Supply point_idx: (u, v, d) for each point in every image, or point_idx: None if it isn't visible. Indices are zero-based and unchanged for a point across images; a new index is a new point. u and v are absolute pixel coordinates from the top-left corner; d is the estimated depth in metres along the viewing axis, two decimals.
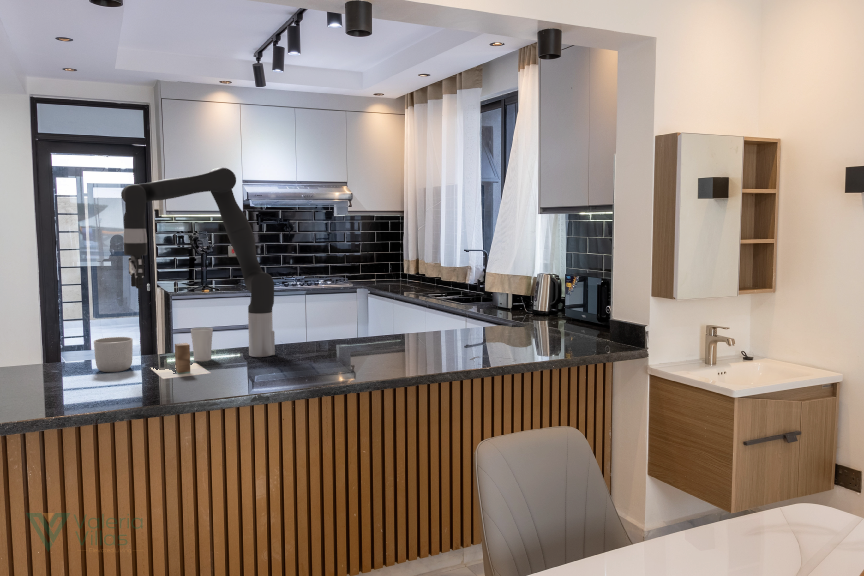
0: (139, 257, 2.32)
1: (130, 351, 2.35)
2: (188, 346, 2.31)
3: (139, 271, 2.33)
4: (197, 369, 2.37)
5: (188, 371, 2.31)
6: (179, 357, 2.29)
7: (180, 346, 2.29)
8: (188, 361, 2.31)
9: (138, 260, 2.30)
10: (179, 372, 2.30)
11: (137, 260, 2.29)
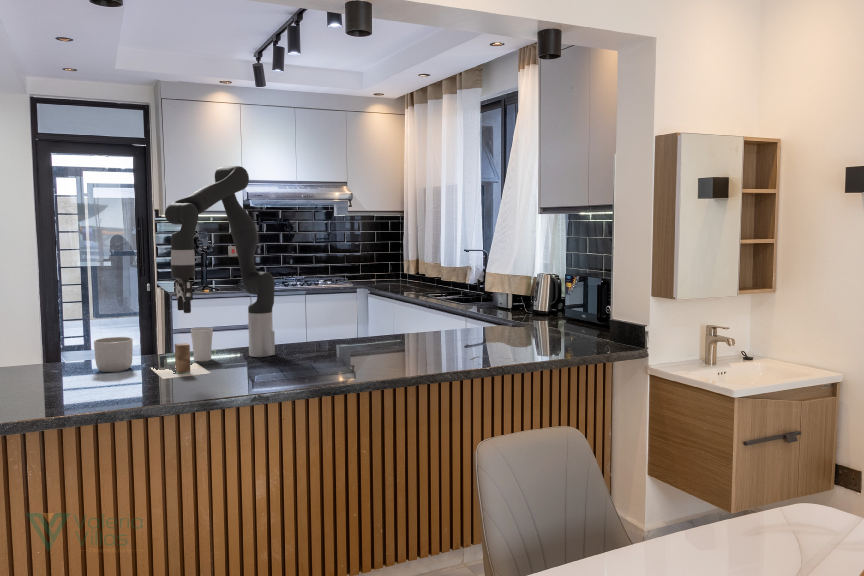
0: (187, 280, 2.20)
1: (130, 351, 2.35)
2: (188, 346, 2.31)
3: (187, 295, 2.20)
4: (197, 369, 2.37)
5: (188, 371, 2.31)
6: (179, 357, 2.29)
7: (180, 346, 2.29)
8: (188, 361, 2.31)
9: (186, 283, 2.17)
10: (179, 372, 2.30)
11: (185, 283, 2.17)
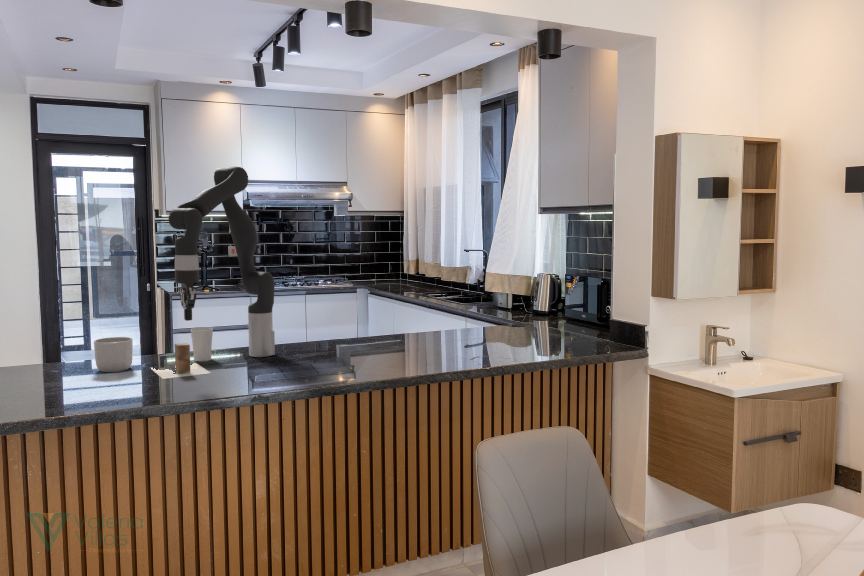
0: (191, 285, 2.19)
1: (130, 351, 2.35)
2: (188, 346, 2.31)
3: None
4: (197, 369, 2.37)
5: (188, 371, 2.31)
6: (179, 357, 2.29)
7: (180, 346, 2.29)
8: (188, 361, 2.31)
9: (190, 296, 2.17)
10: (179, 372, 2.30)
11: (189, 296, 2.17)
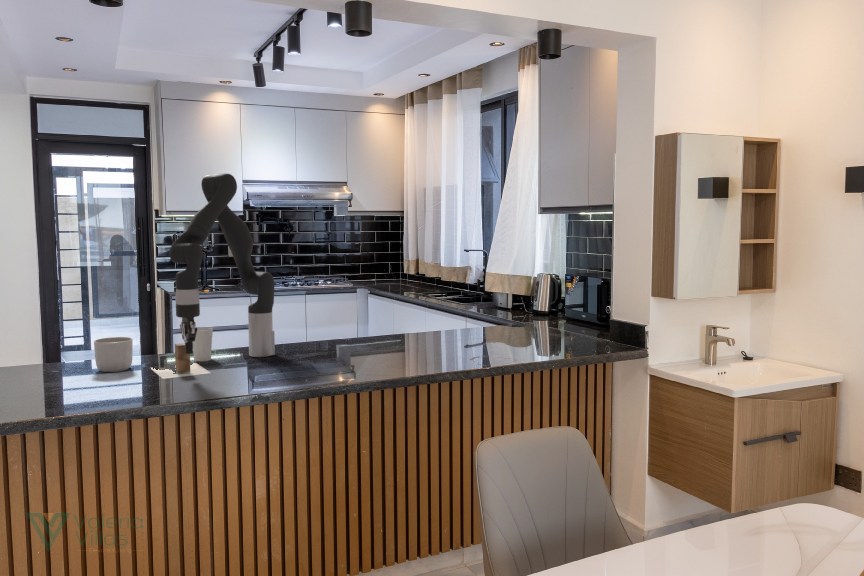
0: (192, 319, 2.21)
1: (130, 351, 2.35)
2: None
3: None
4: (197, 369, 2.37)
5: (188, 371, 2.31)
6: (179, 357, 2.29)
7: (180, 346, 2.29)
8: (188, 361, 2.31)
9: (191, 330, 2.18)
10: (179, 372, 2.30)
11: (190, 330, 2.18)
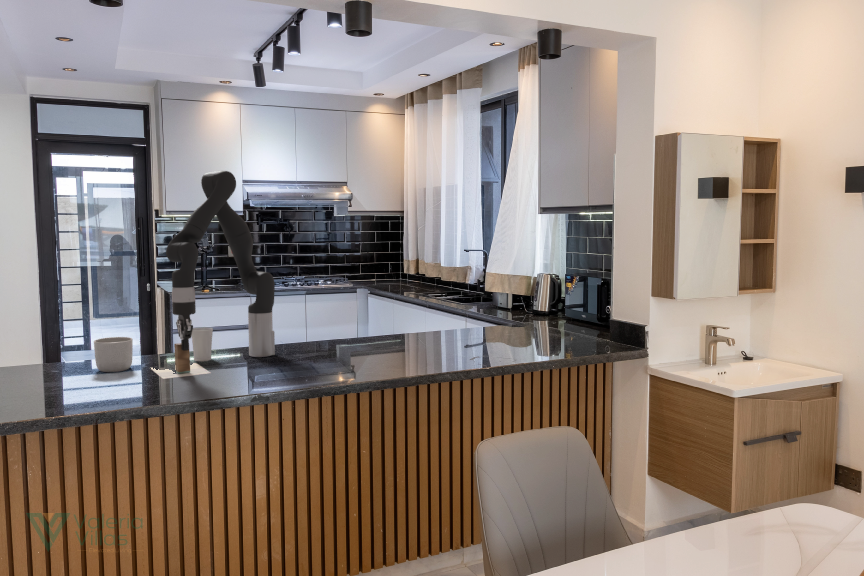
0: (188, 317, 2.25)
1: (130, 351, 2.35)
2: None
3: None
4: (197, 369, 2.37)
5: (188, 370, 2.31)
6: (179, 356, 2.30)
7: (180, 345, 2.30)
8: (188, 360, 2.31)
9: (187, 328, 2.23)
10: (179, 371, 2.30)
11: (186, 328, 2.23)
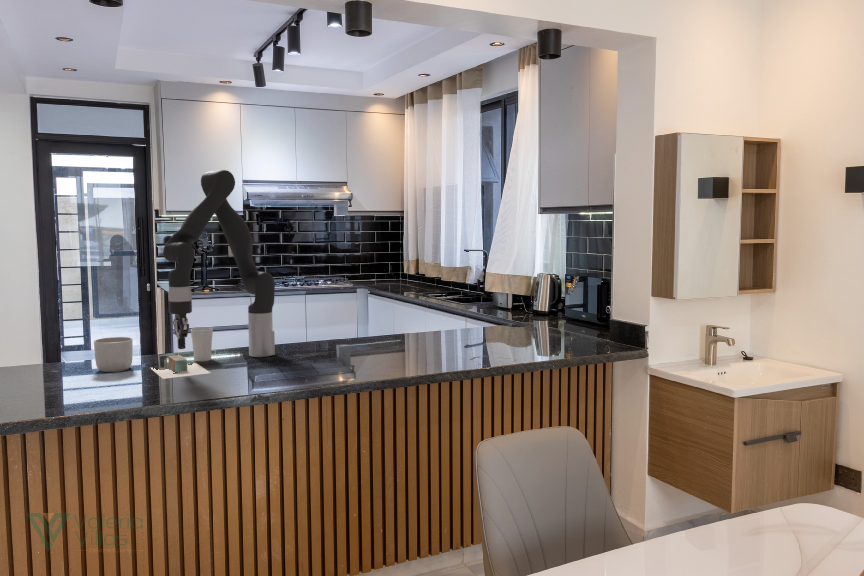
0: (184, 316, 2.28)
1: (130, 351, 2.35)
2: (179, 355, 2.42)
3: None
4: (197, 369, 2.37)
5: (184, 359, 2.35)
6: (172, 357, 2.38)
7: (171, 356, 2.41)
8: (182, 357, 2.38)
9: (183, 326, 2.26)
10: (175, 360, 2.33)
11: (183, 326, 2.26)
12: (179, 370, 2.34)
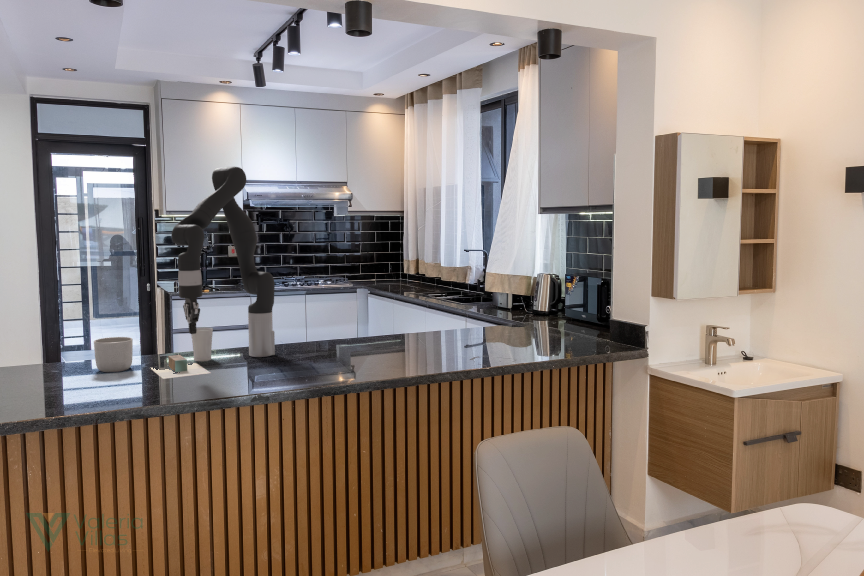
0: (195, 300, 2.24)
1: (130, 351, 2.35)
2: (179, 355, 2.42)
3: None
4: (197, 369, 2.37)
5: (184, 359, 2.35)
6: (172, 357, 2.38)
7: (171, 356, 2.41)
8: (182, 357, 2.38)
9: (194, 311, 2.22)
10: (175, 360, 2.33)
11: (193, 311, 2.22)
12: (179, 370, 2.34)
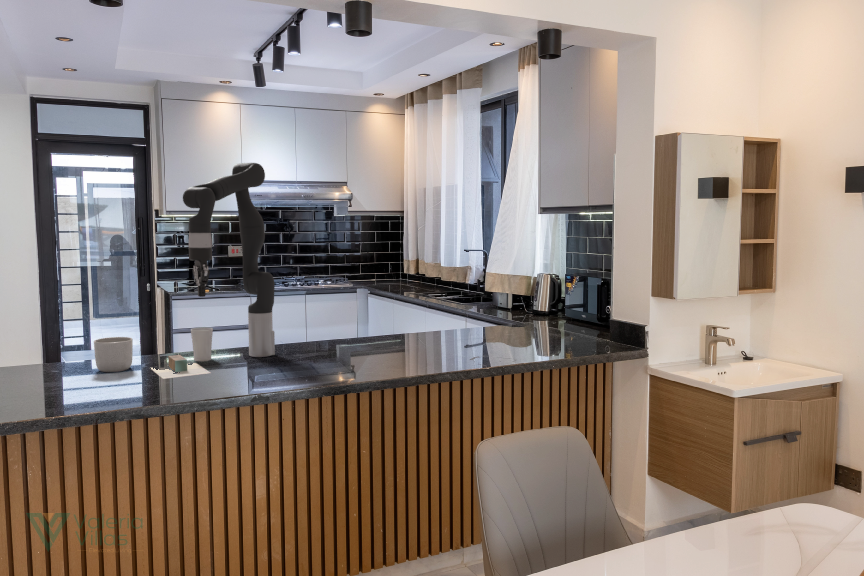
0: (205, 262, 2.26)
1: (130, 351, 2.35)
2: (179, 355, 2.42)
3: None
4: (197, 369, 2.37)
5: (184, 359, 2.35)
6: (172, 357, 2.38)
7: (171, 356, 2.41)
8: (182, 357, 2.38)
9: (204, 273, 2.24)
10: (175, 360, 2.33)
11: (203, 273, 2.24)
12: (179, 370, 2.34)
